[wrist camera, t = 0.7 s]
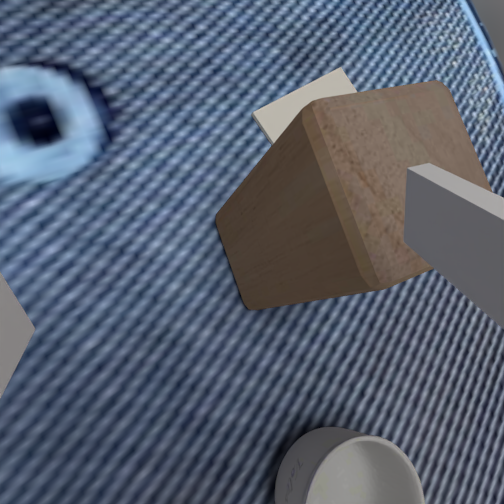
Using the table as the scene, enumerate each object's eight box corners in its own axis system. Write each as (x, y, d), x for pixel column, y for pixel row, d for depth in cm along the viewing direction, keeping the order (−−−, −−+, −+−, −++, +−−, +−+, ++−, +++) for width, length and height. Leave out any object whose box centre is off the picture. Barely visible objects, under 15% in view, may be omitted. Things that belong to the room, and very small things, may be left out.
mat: (251, 114, 40) (252, 112, 39) (338, 69, 45) (340, 67, 44) (345, 253, 40) (348, 252, 40) (421, 192, 45) (424, 191, 45)
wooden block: (296, 192, 40) (450, 70, 21) (329, 281, 39) (520, 234, 20) (209, 215, 36) (304, 91, 17) (244, 314, 35) (382, 294, 16)
